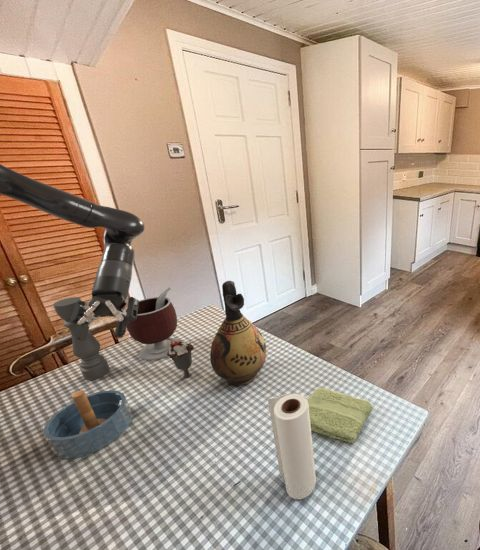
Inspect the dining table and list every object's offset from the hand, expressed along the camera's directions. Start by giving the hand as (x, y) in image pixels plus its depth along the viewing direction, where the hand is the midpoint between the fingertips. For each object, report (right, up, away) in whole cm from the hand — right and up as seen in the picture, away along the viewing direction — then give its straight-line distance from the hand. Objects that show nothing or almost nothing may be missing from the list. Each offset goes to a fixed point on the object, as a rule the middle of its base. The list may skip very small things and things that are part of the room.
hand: (100, 338), depth 77 cm
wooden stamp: (+2, -22, -3) cm, 22 cm away
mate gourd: (-3, -10, +29) cm, 31 cm away
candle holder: (-16, -15, +17) cm, 27 cm away
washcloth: (+59, -21, +1) cm, 63 cm away
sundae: (+14, -15, +15) cm, 25 cm away
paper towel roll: (+54, -27, -14) cm, 62 cm away
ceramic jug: (+30, -14, +16) cm, 37 cm away
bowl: (+2, -22, -3) cm, 23 cm away
